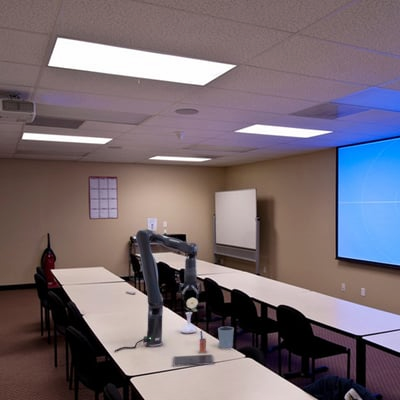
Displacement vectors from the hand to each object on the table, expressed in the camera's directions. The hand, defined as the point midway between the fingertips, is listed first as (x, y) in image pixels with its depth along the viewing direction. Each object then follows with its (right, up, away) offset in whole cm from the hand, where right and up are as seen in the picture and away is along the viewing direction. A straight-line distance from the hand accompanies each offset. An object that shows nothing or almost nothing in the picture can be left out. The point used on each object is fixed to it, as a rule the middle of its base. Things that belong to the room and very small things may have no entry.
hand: (190, 299), depth 270 cm
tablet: (+7, -29, -26) cm, 40 cm away
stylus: (+10, -29, -11) cm, 33 cm away
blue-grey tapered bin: (+23, -31, -1) cm, 38 cm away
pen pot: (+10, -30, -11) cm, 33 cm away
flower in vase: (-6, -31, +32) cm, 45 cm away
